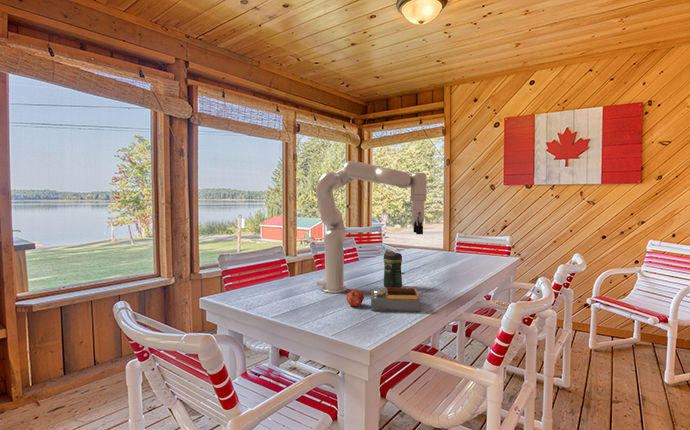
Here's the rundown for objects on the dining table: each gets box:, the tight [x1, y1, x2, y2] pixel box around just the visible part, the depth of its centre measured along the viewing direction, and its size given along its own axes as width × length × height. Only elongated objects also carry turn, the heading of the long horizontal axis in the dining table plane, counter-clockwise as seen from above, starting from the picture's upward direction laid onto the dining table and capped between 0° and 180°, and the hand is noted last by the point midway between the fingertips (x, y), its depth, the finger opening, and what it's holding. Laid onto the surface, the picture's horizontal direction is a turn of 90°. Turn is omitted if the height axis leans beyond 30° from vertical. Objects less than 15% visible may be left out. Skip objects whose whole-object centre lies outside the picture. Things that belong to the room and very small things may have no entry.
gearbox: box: [370, 287, 421, 313], centre depth 150 cm, size 20×14×6 cm
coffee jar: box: [382, 251, 403, 288], centre depth 182 cm, size 10×8×19 cm
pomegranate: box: [346, 288, 364, 307], centre depth 151 cm, size 7×7×10 cm
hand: (418, 233), depth 170 cm, fingers open, 9 cm apart
